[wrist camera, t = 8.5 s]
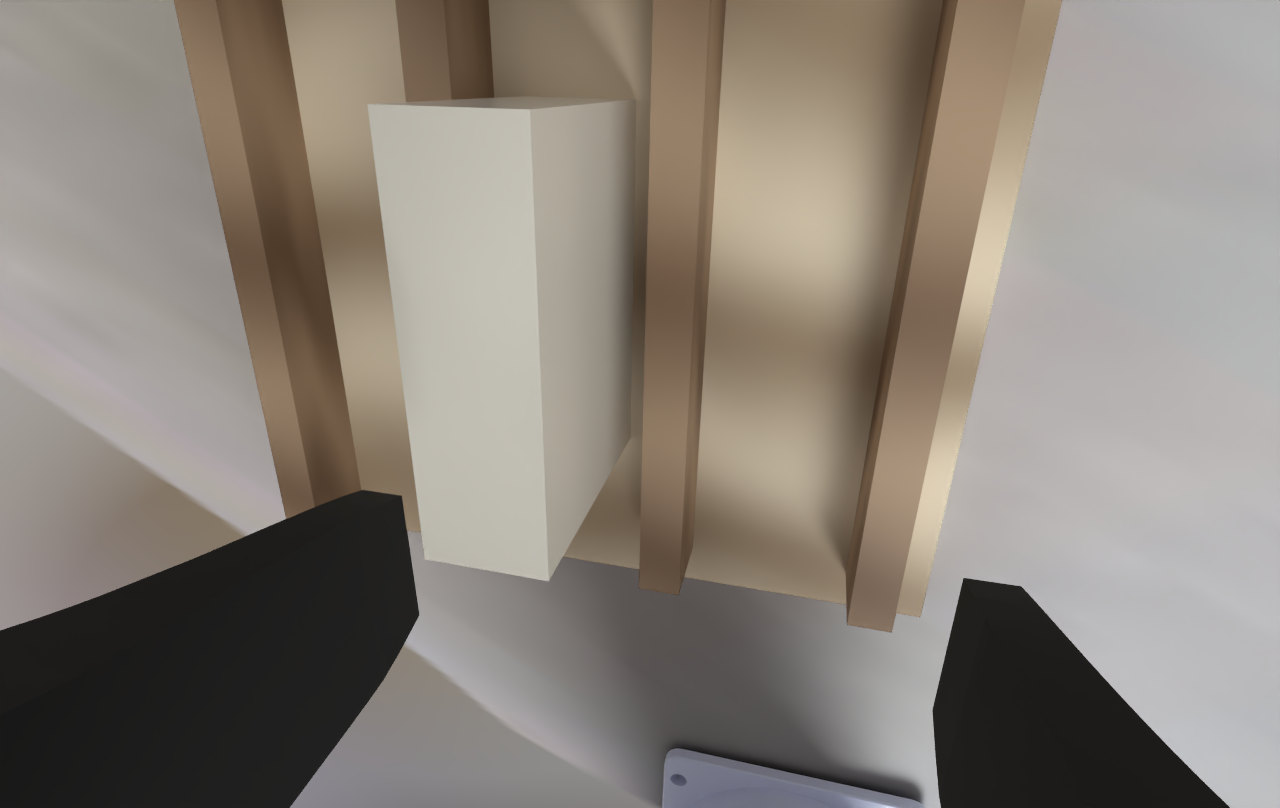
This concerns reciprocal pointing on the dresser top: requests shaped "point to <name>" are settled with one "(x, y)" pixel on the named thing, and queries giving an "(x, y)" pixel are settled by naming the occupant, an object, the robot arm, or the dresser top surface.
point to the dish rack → (663, 255)
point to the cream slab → (510, 314)
